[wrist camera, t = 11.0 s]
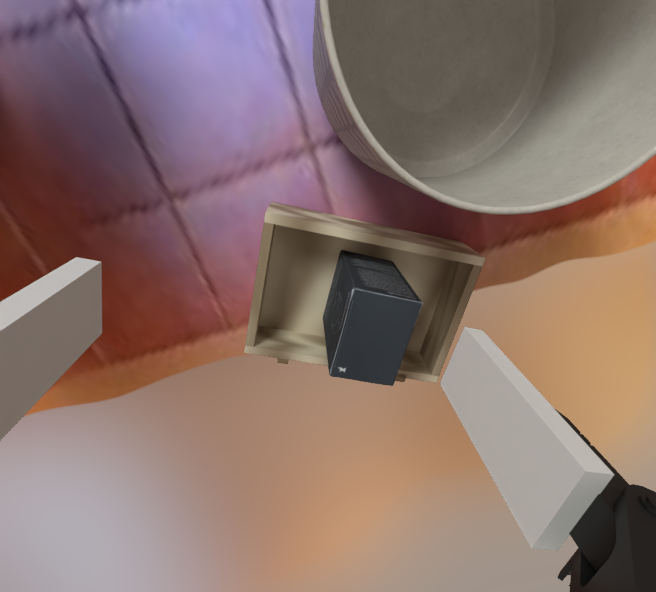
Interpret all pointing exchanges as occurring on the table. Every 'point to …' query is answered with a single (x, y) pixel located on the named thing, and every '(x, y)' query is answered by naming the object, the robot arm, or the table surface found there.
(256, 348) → the crate
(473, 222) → the table surface
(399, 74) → the planter
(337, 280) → the box
